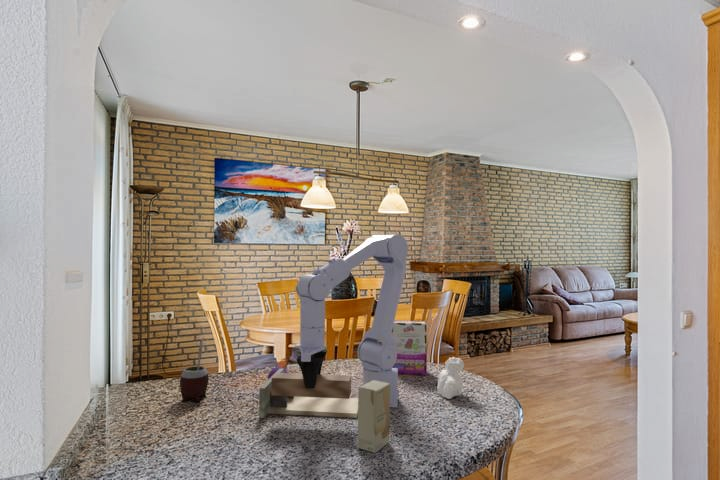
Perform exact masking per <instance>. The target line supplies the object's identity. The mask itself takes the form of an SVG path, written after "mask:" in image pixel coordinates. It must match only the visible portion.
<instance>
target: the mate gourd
mask: <svg viewBox="0 0 720 480" xmlns="http://www.w3.org/2000/svg"><path fill="white" fill-rule="evenodd" d="M204 339H205V337H202V339H201V340H200V341H201V342H200V345H199V347H198V359H197V365H195V366H190V367H186V368H184V369H183V371H182V372H181V374H180V378H179V386H180V395H181V398H182V399H181V403H188V402H191V401H193V402H194V403H196V404H199V403H201V400H200V399H205V398H207V394H206V393H207V390H208V385H209V379H210V377H209V372H208V370H207V368H206V367H204V366H200V364H201V356H202V351H203V344H204Z"/></svg>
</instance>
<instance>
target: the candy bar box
mask: <svg viewBox="0 0 720 480" xmlns="http://www.w3.org/2000/svg"><path fill="white" fill-rule="evenodd" d="M427 329H428V328H427V321H417V320H394V325H393V329H392V334H393V336H394V338H395V339H396V341H397V347H396V351H397V359H396V362H395V364H394V366H393V367H392V368H398V375H419V376H427V374H428V373H427V372H428V358H427V357H428V356H427V355H428V346H427V343H428V341H427V339H428V338H427V336H428V335H427Z"/></svg>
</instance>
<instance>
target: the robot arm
mask: <svg viewBox="0 0 720 480" xmlns="http://www.w3.org/2000/svg"><path fill="white" fill-rule="evenodd" d="M408 252H409V245H408V243H407V241H406V239H405V237H404V236H403V235H402V234H400V233H396V234H373V235H371V237H369V238H366V239H365V240H364V242H363V243H361V244H360V245H359V246H358V247H356V248H355V249H353V250H352V251H351V252H349V253H348V254H347V255H345V256H344V257H343V258H340V257H330V258H328V259H327V263H325V264H324V265H323V266H321V267H319V268H315V269H313V271H312V273H311V274H309V273H308V274H304V275H303V276H301V277H300V278H299V280H298V282H297V285H296V286H295V287H294V288H295V291H296V294H297V295H298V296H299V297H298V298H299V303H300V308H299V309H300V316H299V317H300V323H299V324H300V326H299V328H300V330H299V331H300V332H299V333H300V334H299V335H300V336H299V343H296V344H295V345H294V348H295V349H298V350H300V355H298V356H297V357H296V363H297V364H298V367H299V368H300V371H301V374H302V375H303V380H304V385H305V388H311V389H314V388H315V385H316V380H317V374H321V373H322V368H323V363H324V360H325V357H326V355H327V353H328V350H327V349H326V347H327V346H326V345H327V344H326V337H325V336H326V299H327V298H328V297H329V295H330V294H331V293H330V292H331V290H332V289H333V288H335V287H336V286H338V285H339V284H340V283H342V282H343V281H345V280H347V279H348V278H349V277H350V275H351V270H353V269H354V268H356V267H357V266H360V265H361V264H362V263H363V262H366V261H367V260H369V259H370V258H373V259H374V260H375V261H376V262H377V263H378V265H380V266H381V268H382V269H383V271H384V273H383V274H384V275H383V278H382V283H381V287H380V291H379V295H378V299H377V304H376V308H375V311H374V316H373V320H372V325H371V328H369V329H368V330H367V331H366V332H364V333H363V337H362V340H361V342H360V343H359V345H358V346H357V352H356V353H357V354H356V355H357V358H358V360H360V362H361V366H362V385H364V384H366V383H369V382H371V381H372V380H376V381H380V382H385V383H390V408H398V404H399V403H398V399H399V398H400V390H399V385H398V384H399V378H398V377H399V374H398V368H392V367H393V366H394V364H395V362H396V359H397V351H396V347H397V341H396V339H395V338H394V336H393V334H392V329H393V325H394V321H396V320H395V319H396V315H397V311H398V307H399V302H400V298H401V293H402V290H403V289H402V288H403V285H404V279H405V275H406V271H407V257H408Z"/></svg>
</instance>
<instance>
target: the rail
mask: <svg viewBox="0 0 720 480" xmlns="http://www.w3.org/2000/svg"><path fill="white" fill-rule="evenodd" d="M351 394H352V375H349V374H348V375H345V374H344V375H343V374H323V373H322V374H321V373H320V374H317V380H316V385H315V388H314V389H311V388H305V385H304V380H303V375H302V373H297V372H296V373H294V372H293V373H292V372H288V373H276V374H275V375H274V376H273V377H272V390H271V395H274V396H297V397H319V398H342V399H349V398H351Z"/></svg>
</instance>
